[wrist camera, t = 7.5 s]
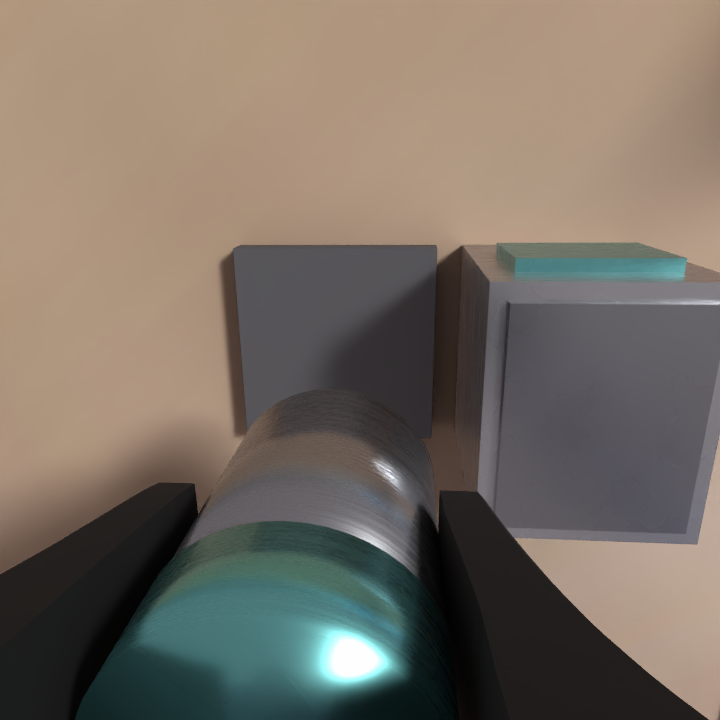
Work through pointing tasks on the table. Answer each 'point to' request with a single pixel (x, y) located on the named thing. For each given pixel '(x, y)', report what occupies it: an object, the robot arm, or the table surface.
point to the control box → (588, 389)
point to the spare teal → (298, 583)
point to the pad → (338, 324)
